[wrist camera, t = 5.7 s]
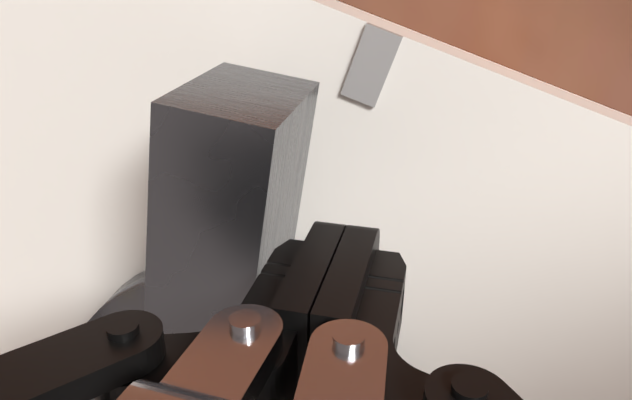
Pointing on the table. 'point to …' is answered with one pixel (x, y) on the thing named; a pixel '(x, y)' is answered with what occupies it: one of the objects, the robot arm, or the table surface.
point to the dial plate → (331, 177)
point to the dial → (218, 191)
